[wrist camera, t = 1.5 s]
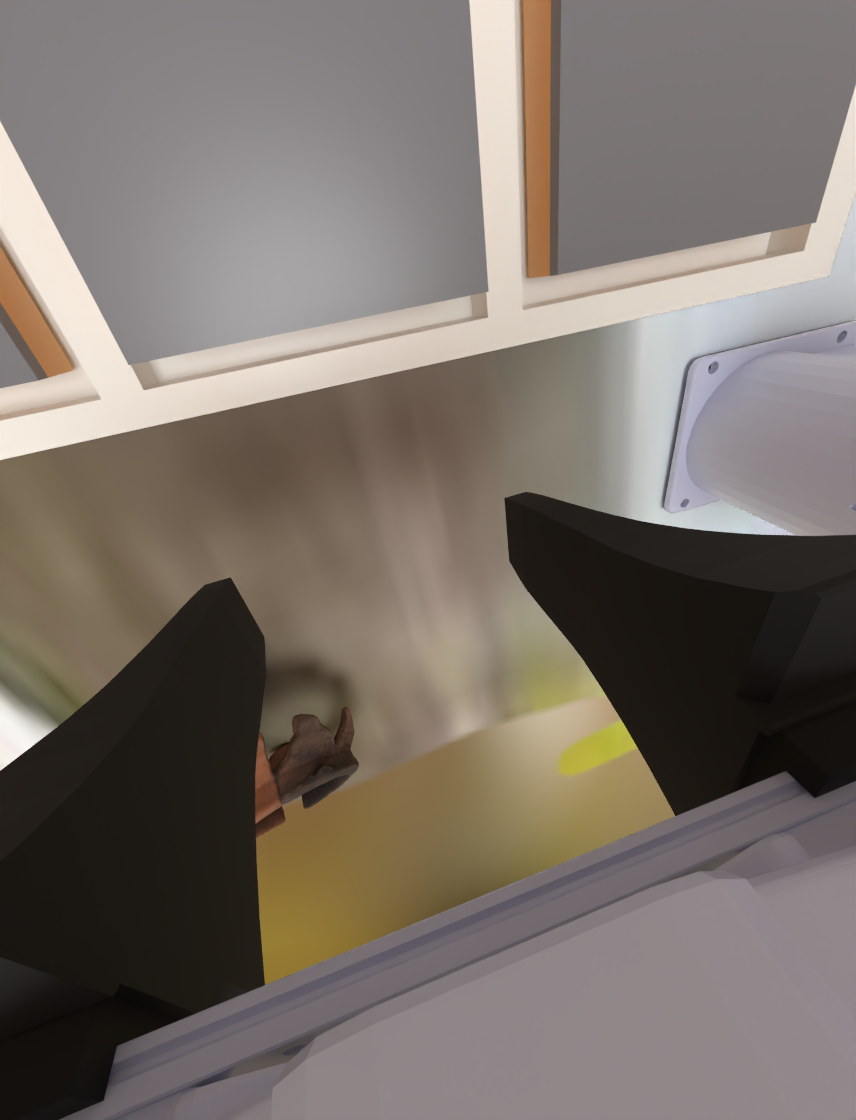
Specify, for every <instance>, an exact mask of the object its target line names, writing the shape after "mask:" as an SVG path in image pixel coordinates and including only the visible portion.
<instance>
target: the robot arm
mask: <svg viewBox="0 0 856 1120" xmlns="http://www.w3.org/2000/svg"><path fill="white" fill-rule="evenodd" d="M711 364H712V366H711V368H710V370H709V371H708V369H709V366H710V365H711ZM719 500H723V501H726V502H728V503H730V504H732V505H734V506H736V507H738V508H740V509H742V510H744V511H746V512H749V513H751V514H753V515H755V516H757V517H759V518H761V519H763V520H765V521H767V522H769V523H772V524H774V525H776V526H778V527H780V528H782V529H784V530H786V531H788V532H790V533H793V534H795V535H797V536H790V535H756V534H738V533H726V532H714V531H703V530H694V529H686V528H679V527H672V526H666V525H659V524H653V523H648V522H642V521H637V520H633V519H628V518H624V517H620V516H615V515H611V514H607V513H603V512H599V511H596V510H592V509H588V508H585V507H581V506H578V505H574V504H571V503H567V502H564V501H560V500H557V499H554V498H550V497H546V496H543V495H539V494H534V493H529V492H524V493H521V494H517V495H514V496H510V497H507V498H505V510H506V523H507V536H508V549H509V561H510V563H511V565H512V566H513V568H514V570H515V571H516V573H517V575H518V577H519V578H520V580H521V581H522V583H523V585H524V586H525V588H526V589H527V591H528V592H529V593H530V594H531V596H532V597H533V598H534V599H535V601H536V602H537V603H538V604H539V606H540V607H541V608H542V609H543V610H544V612H545V613H546V614H547V615H548V616H549V618H550V619H551V620H552V621H553V623H554V624H555V625H556V626H557V627H558V629H559V630H560V631H561V632H562V633H563V635H564V636H565V637H566V638H567V639H568V641H569V642H570V643H571V644H572V646H573V647H574V648H575V650H576V651H577V652H578V654H579V655H580V656H581V658H582V659H583V660H584V662H585V663H586V665H587V666H588V668H589V669H590V671H591V672H592V674H593V676H594V677H595V679H596V680H597V682H598V683H599V685H600V686H601V688H602V689H603V691H604V692H605V694H606V696H607V697H608V699H609V701H610V702H611V704H612V705H613V707H614V709H615V710H616V712H617V713H618V715H619V717H620V718H621V720H622V722H623V723H624V725H625V727H626V728H627V730H628V732H629V733H630V735H631V737H632V739H633V740H634V742H635V744H636V745H637V747H638V749H639V751H640V752H641V754H642V756H643V757H644V759H645V761H646V762H647V764H648V766H649V768H650V770H651V772H652V773H653V775H654V777H655V779H656V781H657V783H658V784H659V786H660V788H661V790H662V792H663V793H664V795H665V797H666V799H667V801H668V803H669V805H670V806H671V808H672V810H673V812H674V814H675V817H673V818H670V819H668V820H665V821H663V822H660V823H658V824H656V825H653V826H651V827H648V828H646V829H643V830H641V831H639V832H636V833H634V834H631V835H629V836H626V837H624V838H622V839H619V840H617V841H614V842H612V843H609V844H607V845H605V846H602V847H600V848H597V849H595V850H592V851H590V852H588V853H585V854H583V855H580V856H578V857H575V858H573V859H571V860H568V861H566V862H563V863H561V864H558V865H556V866H553V867H551V868H549V869H546V870H544V871H541V872H539V873H536V874H534V875H532V876H529V877H527V878H524V879H522V880H519V881H517V882H515V883H512V884H510V885H507V886H505V887H503V888H500V889H498V890H495V891H493V892H490V893H488V894H485V895H483V896H480V897H478V898H476V899H473V900H471V901H469V902H466V903H463V904H461V905H459V906H456V907H454V908H451V909H449V910H446V911H445V912H442V913H439V914H437V915H434V916H432V917H429V918H427V919H425V920H422V921H420V922H417V923H415V924H413V925H410V926H408V927H405V928H403V929H401V930H398V931H395V932H393V933H391V934H388V935H386V936H383V937H381V938H378V939H376V940H373V941H371V942H369V943H366V944H364V945H361V946H359V947H357V948H354V949H352V950H350V951H347V952H344V953H342V954H339V955H337V956H335V957H332V958H330V959H327V960H325V961H323V962H320V963H318V964H315V965H313V966H311V967H308V968H305V969H303V970H301V971H298V972H296V973H293V974H291V975H288V976H286V977H284V978H281V979H279V980H276V981H274V982H271V983H269V984H267V985H265V981H264V970H263V956H262V946H261V945H262V944H261V931H260V920H259V904H258V903H259V900H258V881H257V862H256V821H255V772H256V757H257V747H258V739H259V730H260V721H261V712H262V703H263V694H264V685H265V674H266V663H265V642H264V636H263V634H262V632H261V630H260V629H259V627H258V625H257V623H256V622H255V620H254V618H253V616H252V614H251V613H250V611H249V609H248V607H247V606H246V604H245V602H244V600H243V599H242V597H241V595H240V593H239V591H238V590H237V588H236V586H235V584H234V583H233V581H232V579H231V578H227V579H224V580H220V581H217V582H213V583H210V584H207V585H205V586H203V587H202V588H201V589H200V590H199V591H198V592H197V593H196V594H195V595H194V596H193V597H192V598H191V599H190V600H189V601H188V602H187V603H186V604H185V605H184V606H183V607H182V608H181V609H180V610H179V611H178V613H177V614H176V615H175V616H174V617H173V618H172V619H171V620H170V621H169V622H168V623H167V624H166V625H165V627H164V628H163V629H162V630H161V631H160V632H159V633H158V634H157V635H156V636H155V637H154V638H153V639H152V640H151V641H150V643H149V644H148V645H147V646H146V647H145V648H144V649H143V650H142V651H141V652H140V653H139V654H138V655H137V656H136V657H134V658H133V659H132V660H131V661H130V662H129V663H128V664H127V665H126V666H125V667H124V668H123V669H122V670H121V671H120V672H119V673H118V674H117V675H116V676H115V677H114V678H113V679H112V680H111V681H110V682H109V683H108V684H107V685H106V686H105V687H104V688H103V689H101V690H100V691H99V692H98V693H97V694H96V695H95V696H94V697H93V698H91V699H90V700H89V701H88V702H87V703H86V704H84V705H83V706H82V707H81V708H80V709H79V710H77V711H76V712H75V713H74V714H73V715H71V716H70V717H69V718H68V719H67V720H66V721H64V722H63V723H62V724H61V725H59V726H58V727H57V728H56V729H54V730H53V731H52V732H51V733H49V734H48V735H47V736H45V737H44V738H43V739H41V740H40V741H39V742H37V743H36V744H35V745H34V746H32V747H31V748H30V749H28V750H27V751H26V752H24V753H23V754H22V755H20V756H19V757H18V758H17V759H15V760H14V761H13V762H11V763H10V764H9V765H7V766H6V767H5V768H3V769H2V770H1V771H0V1120H856V320H855V321H851V322H847V323H843V324H839V325H834V326H830V327H826V328H822V329H817V330H813V331H809V332H805V333H801V334H796V335H792V336H788V337H784V338H780V339H775V340H771V341H767V342H763V343H759V344H754V345H750V346H746V347H742V348H737V349H733V350H729V351H725V352H721V353H716V354H712V355H708V356H704V357H700V358H698V359H696V360H695V361H694V362H693V363H692V364H691V366H690V368H689V371H688V377H687V382H686V388H685V393H684V399H683V404H682V410H681V415H680V421H679V426H678V432H677V437H676V443H675V448H674V454H673V459H672V465H671V470H670V476H669V481H668V487H667V492H666V498H665V503H664V508H665V510H666V511H668V512H670V513H676V512H680V511H684V510H687V509H691V508H694V507H698V506H701V505H705V504H708V503H712V502H715V501H719ZM682 501H683V502H682ZM681 502H682V503H681Z"/></svg>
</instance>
